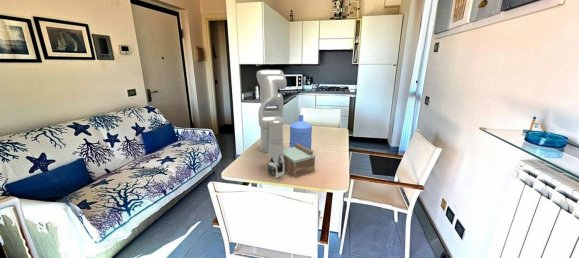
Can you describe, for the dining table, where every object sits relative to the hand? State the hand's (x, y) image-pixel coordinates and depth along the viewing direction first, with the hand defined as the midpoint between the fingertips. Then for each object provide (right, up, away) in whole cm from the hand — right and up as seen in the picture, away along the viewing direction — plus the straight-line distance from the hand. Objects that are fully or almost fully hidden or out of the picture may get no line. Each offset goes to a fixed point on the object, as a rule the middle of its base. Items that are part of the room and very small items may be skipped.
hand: (276, 169), depth 139 cm
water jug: (+16, +6, +34) cm, 38 cm away
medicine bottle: (0, -4, +1) cm, 4 cm away
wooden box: (+12, -1, +8) cm, 14 cm away
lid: (+12, +8, +6) cm, 15 cm away
